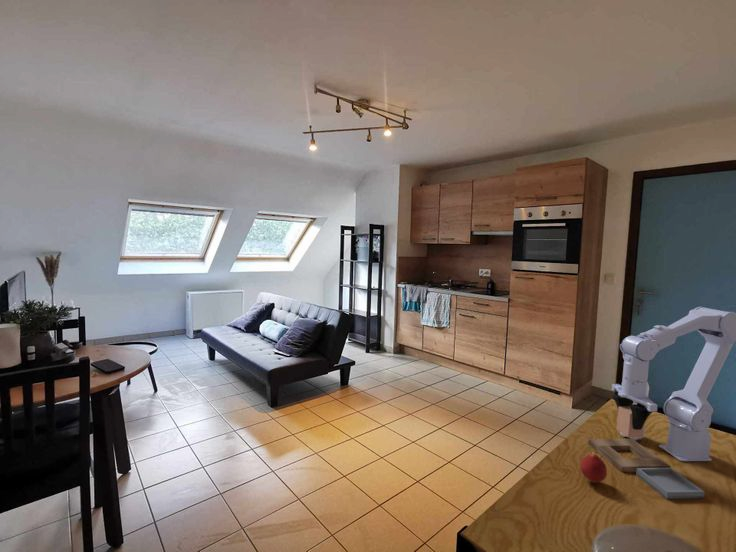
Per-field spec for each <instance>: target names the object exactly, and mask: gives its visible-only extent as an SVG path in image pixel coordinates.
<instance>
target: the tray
mask: <svg viewBox="0 0 736 552" xmlns="http://www.w3.org/2000/svg"><path fill="white" fill-rule="evenodd" d="M635 475H636V476H637V477H638V478H640V479H642V481H643V482H645V483H646V484H647V485H649V486H650V488H652V489H653V490H654V491H656V492H657V493H658V494H659V495H661V496H662V497H663V498H664V499H666V500H685V499H686V500H689V499H690V500H691V499H692V500H693V499H694V500H695V499H696V500H697V499H705V494H706V493H705V491H704V489H702V488H700V487H699V486H698V485H696V484H695V483H693V482H692V481H690V480H689V479H687V478H686V477H685V476H683V475H682V474H680V473H678V471H676V470H674V469H673V468H672V467H671V468H637V470H636V473H635Z"/></svg>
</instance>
